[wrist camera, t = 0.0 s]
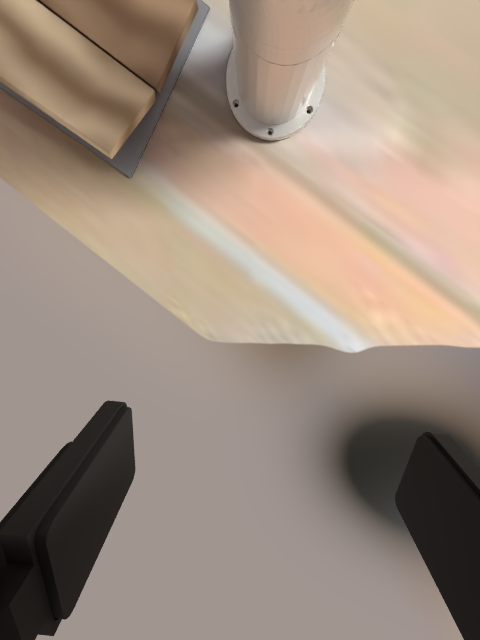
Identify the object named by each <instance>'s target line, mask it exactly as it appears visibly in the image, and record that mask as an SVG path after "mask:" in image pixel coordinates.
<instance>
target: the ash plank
mask: <svg viewBox="0 0 480 640" xmlns="http://www.w3.org/2000/svg"><path fill="white" fill-rule="evenodd" d="M0 82H1V83H3V84H4V85H6V86H7V87H9V88H10V89H11V90H13V91H14V92H16V93H17V94H19V95H20V96H21V97H23V98H24V99H26V100H27V101H29V102H30V103H32V104H33V105H34V106H36V107H37V108H39V109H40V110H42V111H43V112H44V113H46V114H47V115H49V116H50V117H52V118H53V119H55V120H56V121H57V122H59V123H60V124H62V125H63V126H65V127H66V128H67V129H69V130H70V131H72V132H73V133H75V134H76V135H78V136H79V137H80V138H82V139H83V140H85V141H86V142H88V143H89V144H90V145H92V146H93V147H95V148H96V149H98V150H99V151H101V152H102V153H103V154H105V155H106V156H108V157H109V158H111V159H113V157H114V156H115V155H116V153H117V152H118V151H119V149H120V148H121V147H122V145H123V144H124V143H125V141H126V140H127V139H128V137H129V136H130V135H131V133H132V132H133V131H134V129H135V128H136V127H137V125H138V124H139V123H140V121H141V120H142V119H143V117H144V116H145V115H146V113H147V112H148V111H149V109H150V108H151V107H152V105H153V104H154V103H155V101H156V98H155V91H154V90H153V89H152V88H151V87H149V86H148V85H147V84H145V83H144V82H143V81H141V80H140V79H139V78H137V77H136V76H135V75H133V74H132V73H131V72H130V71H128V70H127V69H126V68H124V67H123V66H122V65H120V64H119V63H118V62H116V61H115V60H114V59H112V58H111V57H110V56H108V55H107V54H106V53H105V52H103V51H102V50H101V49H99V48H98V47H97V46H95V45H94V44H93V43H91V42H90V41H89V40H87V39H86V38H85V37H83V36H82V35H81V34H80V33H78V32H77V31H76V30H74V29H73V28H72V27H70V26H69V25H68V24H66V23H65V22H64V21H62V20H61V19H60V18H58V17H57V16H56V15H55V14H53V13H52V12H51V11H49V10H48V9H47V8H45V7H44V6H43V5H41V4H40V3H39V2H37V1H36V0H0Z"/></svg>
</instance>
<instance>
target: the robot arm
mask: <svg viewBox="0 0 480 640" xmlns="http://www.w3.org/2000/svg"><path fill="white" fill-rule="evenodd" d="M353 1H354V0H229V4H230V14H231V23H232V33H233V43H234V47H233V49H232V51H231V53H230V57H229V60H228V64H227V70H226V91H227V97H228V101H229V105H230V108H231V110H232V112H233V115H234V117H235V118H236V120H237V121H238V122H239V124H240V125H241V126H242V127H243V128H244V129H245V130H246V131H247V132H249V133H250V134H252V135H253V136H255V137H258V138H260V139H263V140H270V141H273V140H282V139H285V138H288V137H290V136H292V135H294V134H296V133H297V132H299V131H300V130H301V129H302V128H304V127H305V126H306V125H307V123H308V122H309V121H310V120H311V119H312V117H313V116H314V114H315V112H316V111H317V109H318V107H319V104H320V102H321V100H322V97H323V93H324V90H325V83H326V61H327V59H328V56H329V54H330V52H331V50H332V48H333V46H334V44H335V41H336V39H337V37H338V35H339V33H340V31H341V28H342V26H343V24H344V22H345V19H346V17H347V15H348V13H349V11H350V8H351V6H352V4H353ZM235 104H238V107H235ZM307 110H309V111H310V114H308V113H307ZM268 132H271V133H272V134H271V135H268ZM134 474H135V457H134V440H133V425H132V410H131V408H130V407H127V405H126V403H125V402H117V401H106V402H105V403H104V404H103V405H102V406H101V407H100V409H99V410H98V411H97V412H96V414H95V415H94V416H93V417H92V419H91V420H90V421H89V422H88V423H87V425H86V426H85V427H84V428H83V430H82V431H81V432H80V433H79V434H78V436H77V437H76V438H75V439H74V441H73V442H69V443H67V444H66V445H65V446H64V447H63V448H62V449H61V450H60V451H59V453H58V454H57V455H56V456H55V457H54V459H53V460H52V461H51V462H50V463H49V465H48V466H47V467H46V468H45V469H44V471H43V472H42V473H41V474H40V475H39V477H38V478H37V479H36V480H35V481H34V483H33V484H32V485H31V486H30V487H29V489H28V490H27V491H26V492H25V493H24V494H23V496H22V497H21V498H20V499H19V500H18V502H17V503H16V504H15V505H14V506H13V508H12V509H11V510H10V511H9V513H8V514H7V515H6V516H5V517H4V518H3V520H2V521H1V522H0V640H35V639H36V637H37V635H38V634H39V635H49V636H54V634H55V632H56V630H57V628H58V626H59V624H60V622H61V620H62V619H67V618H68V617H69V616H70V614H71V613H72V611H73V609H74V607H75V605H76V603H77V601H78V598H79V596H80V594H81V592H82V590H83V588H84V585H85V583H86V581H87V579H88V577H89V574H90V572H91V570H92V568H93V566H94V564H95V561H96V559H97V557H98V555H99V553H100V550H101V548H102V546H103V544H104V542H105V540H106V538H107V535H108V533H109V531H110V529H111V527H112V525H113V522H114V520H115V518H116V516H117V514H118V511H119V509H120V507H121V505H122V503H123V501H124V499H125V496H126V494H127V492H128V490H129V487H130V485H131V483H132V481H133V478H134ZM395 501H396V506H397V508H398V510H399V512H400V514H401V516H402V518H403V520H404V522H405V524H406V526H407V528H408V530H409V532H410V534H411V536H412V538H413V540H414V542H415V544H416V546H417V548H418V550H419V552H420V554H421V555H422V558H423V560H424V561H425V564H426V565H427V567H428V569H429V571H430V573H431V575H432V577H433V579H434V581H435V583H436V585H437V587H438V589H439V591H440V593H441V595H442V597H443V599H444V601H445V603H446V605H447V607H448V609H449V611H450V613H451V615H452V617H453V619H454V621H455V623H456V625H457V627H458V628H459V630H460V633H461V634H462V636H463V638H464V640H480V469H479V467H478V466H477V465H476V464H475V463H474V462H473V461H472V460H471V459H470V458H469V456H467V454H466V453H464V451H463V450H462V449H461V448H460V447H459V446H458V445H457V443H455V441H454V440H453V439H452V438H451V437H450V436H449V435H447V434H445V433H433V432H425V433H423V435H422V436H420V437H418V439H417V441H416V444H415V446H414V449H413V451H412V454H411V456H410V459H409V461H408V464H407V467H406V469H405V472H404V474H403V477H402V479H401V482H400V485H399V487H398V490H397V492H396V495H395Z"/></svg>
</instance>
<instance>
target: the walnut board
mask: <svg viewBox="0 0 480 640" xmlns="http://www.w3.org/2000/svg"><path fill="white" fill-rule="evenodd" d="M37 1H38V2H40V3H41V4H42V5H43V6H45V7H46V8H47V9H49V10H50V11H51V12H53V13H54V14H55V15H57V16H58V17H59V18H61V19H62V20H63V21H65V22H66V23H67V24H68V25H70V26H71V27H72V28H74V29H75V30H76V31H78V32H79V33H80V34H82V35H83V36H84V37H86V38H87V39H88V40H90V41H91V42H92V43H93V44H95V45H96V46H97V47H99V48H100V49H101V50H103V51H104V52H105V53H107V54H108V55H109V56H111V57H112V58H113V59H114V60H116V61H117V62H118V63H120V64H121V65H122V66H124V67H125V68H126V69H128V70H129V71H130V72H132V73H133V74H134V75H136V76H137V77H138V78H139V79H141V80H142V81H143V82H145V83H146V84H147V85H149V86H150V87H151V88H153V89H154V90H155V91H157V92H158V93H159V94H160V93H161V91H162V88H163V86H164V84H165V82H166V80H167V77H168V75H169V73H170V71H171V69H172V66H173V64H174V62H175V60H176V58H177V55H178V53H179V51H180V49H181V47H182V44H183V42H184V40H185V38H186V36H187V33H188V31H189V29H190V27H191V25H192V23H193V20H194V18H195V16H196V14H197V12H198V9H199V8H198V4H197V0H37Z"/></svg>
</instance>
